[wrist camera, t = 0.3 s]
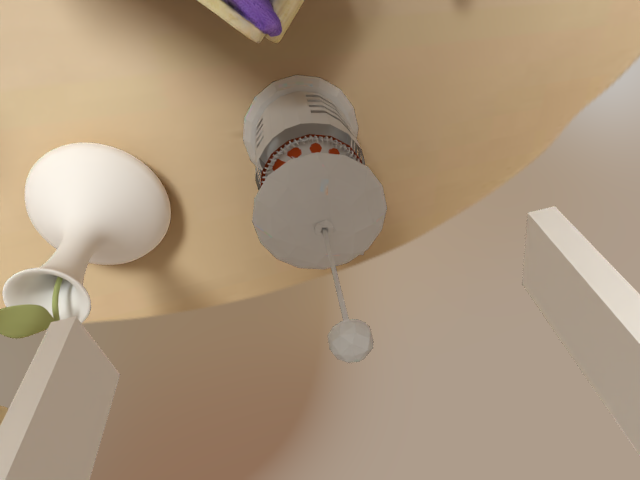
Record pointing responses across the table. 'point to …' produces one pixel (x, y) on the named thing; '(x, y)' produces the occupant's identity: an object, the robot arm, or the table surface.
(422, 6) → the table surface
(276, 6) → the toy sofa
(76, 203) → the flower in vase
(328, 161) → the french press
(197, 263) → the table surface
